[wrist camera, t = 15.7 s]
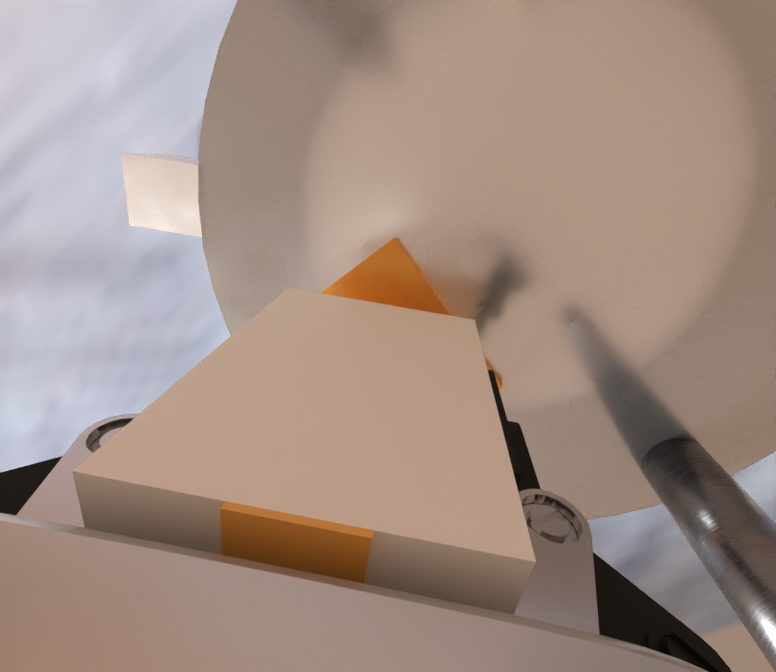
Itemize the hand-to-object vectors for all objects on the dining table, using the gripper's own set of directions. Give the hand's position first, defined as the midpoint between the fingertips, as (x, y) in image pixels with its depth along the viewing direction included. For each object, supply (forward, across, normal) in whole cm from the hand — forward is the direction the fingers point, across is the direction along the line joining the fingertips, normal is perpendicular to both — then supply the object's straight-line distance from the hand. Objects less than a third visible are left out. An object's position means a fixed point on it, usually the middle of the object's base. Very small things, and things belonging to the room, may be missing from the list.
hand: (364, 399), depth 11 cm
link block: (+1, 0, 0) cm, 1 cm away
